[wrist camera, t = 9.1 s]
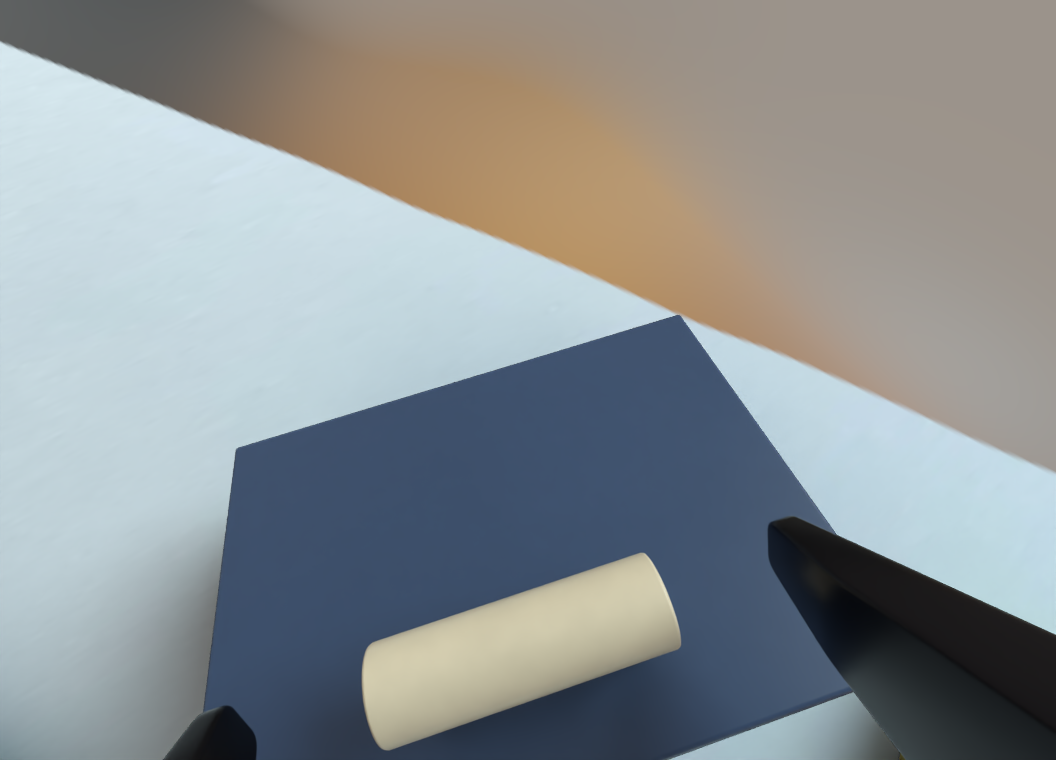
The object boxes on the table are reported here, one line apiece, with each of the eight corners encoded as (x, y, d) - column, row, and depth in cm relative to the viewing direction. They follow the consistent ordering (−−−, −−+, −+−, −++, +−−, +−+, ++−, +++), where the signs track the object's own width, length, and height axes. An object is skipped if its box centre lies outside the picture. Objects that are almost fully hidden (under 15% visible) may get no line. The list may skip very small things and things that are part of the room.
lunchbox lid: (912, 670, 10) (1042, 612, 7) (201, 930, 9) (-15, 997, 6) (677, 330, 17) (691, 222, 14) (249, 460, 16) (157, 376, 13)
